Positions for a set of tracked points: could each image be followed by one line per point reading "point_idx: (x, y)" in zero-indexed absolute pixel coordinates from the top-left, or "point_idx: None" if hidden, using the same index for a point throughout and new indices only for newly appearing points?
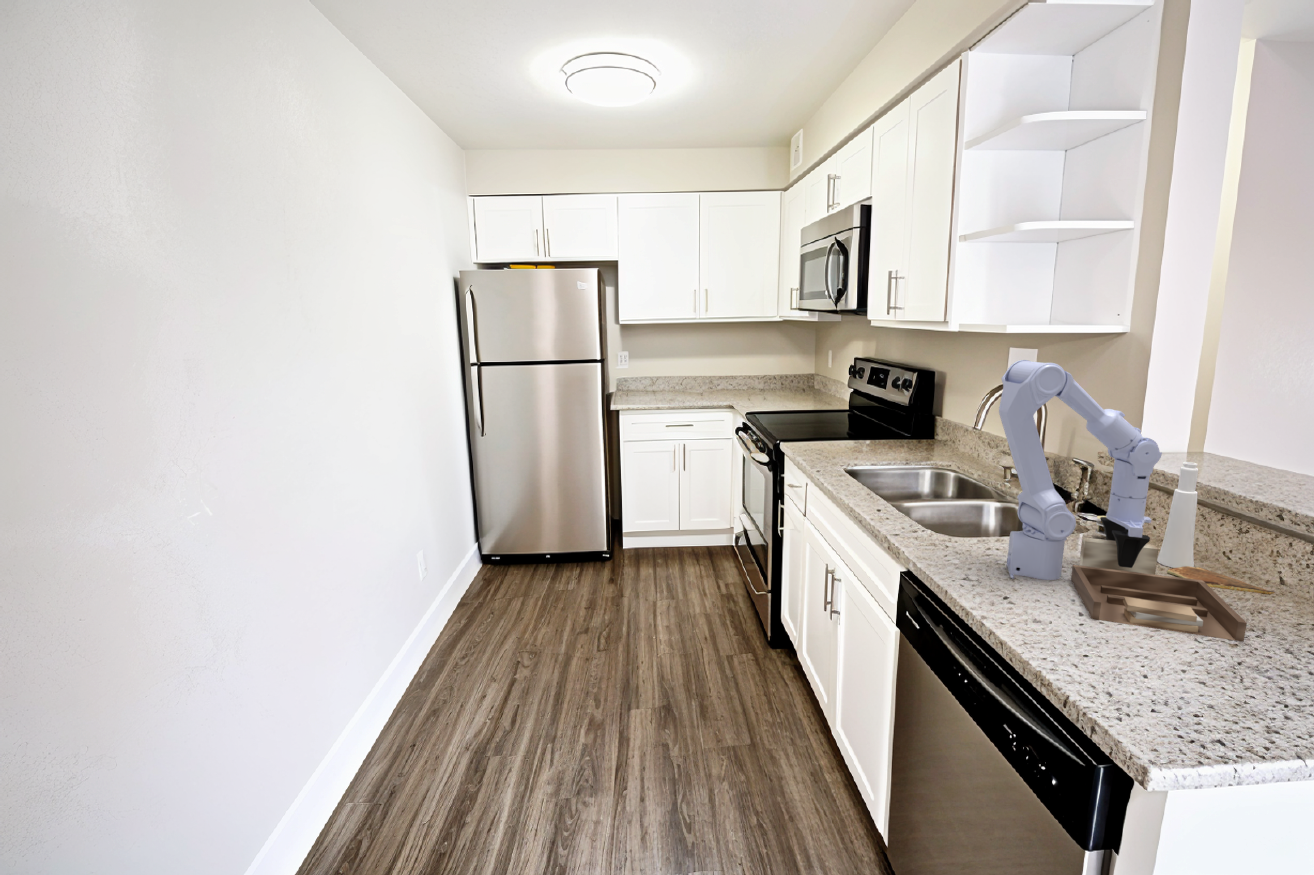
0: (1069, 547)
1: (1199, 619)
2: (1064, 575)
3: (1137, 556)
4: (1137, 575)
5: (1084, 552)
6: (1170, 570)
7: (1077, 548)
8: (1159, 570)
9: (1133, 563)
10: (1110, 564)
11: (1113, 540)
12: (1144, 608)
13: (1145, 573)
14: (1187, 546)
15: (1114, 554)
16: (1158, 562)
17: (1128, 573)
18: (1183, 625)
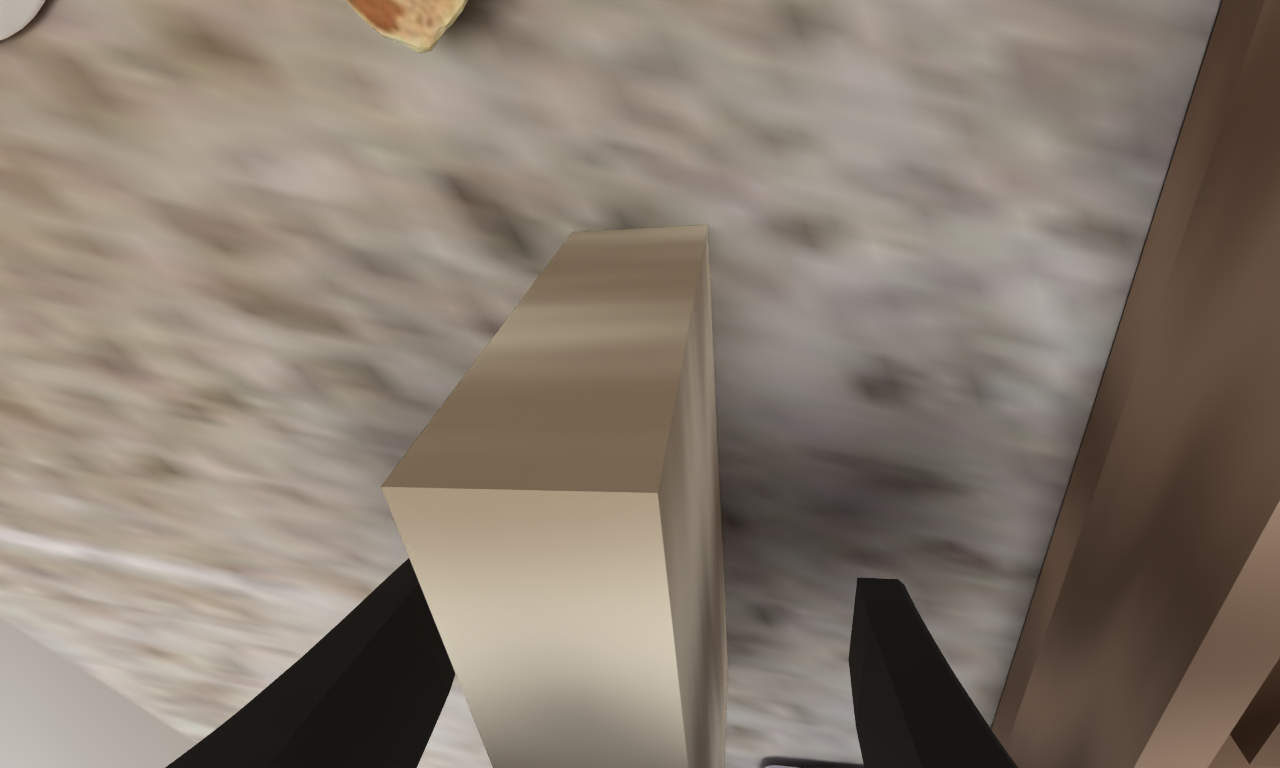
0: (215, 616)
1: None
2: (823, 745)
3: (983, 724)
4: (1278, 637)
5: None
6: (423, 19)
7: (195, 581)
8: (271, 80)
9: (922, 627)
10: (717, 634)
11: (380, 760)
12: None
13: (1242, 571)
14: None
15: (710, 732)
16: (3, 35)
17: (1240, 706)
18: None
